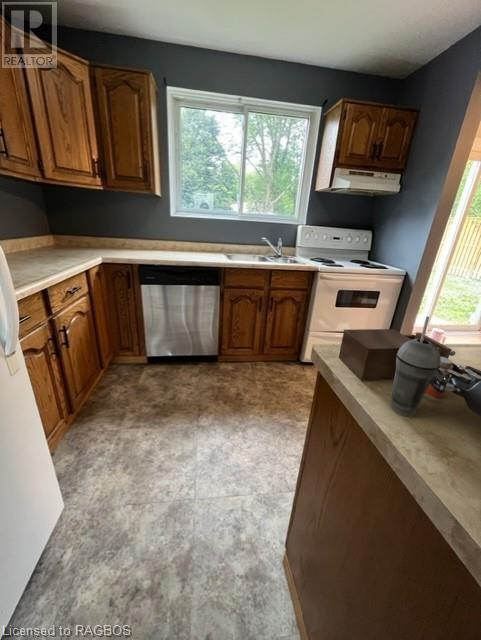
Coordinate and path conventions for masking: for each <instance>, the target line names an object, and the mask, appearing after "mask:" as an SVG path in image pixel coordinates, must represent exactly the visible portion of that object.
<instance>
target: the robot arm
mask: <svg viewBox="0 0 481 640" xmlns="http://www.w3.org/2000/svg"><path fill="white" fill-rule="evenodd" d="M452 365H453V369H452V370H450V369H448V370H445V369H443V368H441V367H440V368H439V369H438V370H437V372H436V374H435V375H434V377H432V380H431V382H430V384H431V385H432V386H433V388H434V389H435V390H436V391H437V392H439V393H443V392H444V393H445V391H450V392H452V393H453V394H455V395H457V396H459V397H461V398H463V400H464V402H465V405H466V407H467V409H468V410H470V411H471V412H472V413H474V414H475V415H476V416H478V417H479V418H481V370H480V369H477V368H475V367H472V366H469V365H465V367H464V366H463V365H461V364H456V363H454V362H452ZM439 372H441V373H443V376H441V375H440V374H439ZM444 390H445V391H444Z"/></svg>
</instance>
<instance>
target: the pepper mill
mask: <svg viewBox="0 0 481 640" xmlns="http://www.w3.org/2000/svg"><path fill="white" fill-rule="evenodd" d="M452 363H453V360H451V359H450V358H445V357H441V361H440V367H441V368H443V369H445V370H448V369H450V370H452V369H453V365H452ZM439 374H440V375H441V376H443V373H441V372H439ZM445 391H446V390H444V392H443V393H439V392H437V391H436V390H435V389H434V388H433V386H432V385H431V384H429V386H428V388H427V390H426V392H425V394H426V395H428V396H430V397H433V398H442V397H443V396H444V393H445Z"/></svg>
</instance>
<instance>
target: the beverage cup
mask: <svg viewBox="0 0 481 640" xmlns="http://www.w3.org/2000/svg"><path fill="white" fill-rule="evenodd" d="M429 320H430V316H428V315H427V316H425V320H424V324H423V328H422V332H421V333H422V336H421V339H414V340H410V341H408V342H406V343H404V344H403V345H402V346H401V348H400V349H399V351H398V353H397V354H396V357H397V358H396V371H395V377H394V379H393V383H392V388H391V389H392V390H391V395H390V404H389V407H390V409H391V411H393V412H394V413H396V414H397V415H400V416H403V417H407V418H408V417H409V418H410V417H413V416H415V415H416V412H417V411H418V409H419V408H420V405H421V402H422V400H423V399H424V396H425V394H426V393H425V392H426V390H427V388H428V386H429V384H430V382H431V380H432V377H434V375H435V374H436V372H437V370H438V369H439V368H440V361H441V357H440V353H439V351H438V349H437V348H436V347H435V346H434V345H433V344H432V343H430V342H428V341H426V340H424V336H425V335H426V332H427V329H428V328H427V327H428V325H429Z"/></svg>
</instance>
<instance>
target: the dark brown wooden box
mask: <svg viewBox="0 0 481 640" xmlns="http://www.w3.org/2000/svg"><path fill="white" fill-rule="evenodd" d="M410 340H411V339H409V338H407V337H406V336H404V335H402V333H401V332H399V331H397V330H395V329H394V328H374V329H373V328H371V329H370V328H367V329H366V328H365V329H364V328H363V329H362V328H361V329H359V328H358V329H343V333H342V339H341V343H340V349H339V354H338V359H339V360H340V361H341V362H342V363H343V364H344V365H345V366H346V367H347V368H348V369H349V370H350V371H351V372H352V374H354V375H355V376H356V377H357V378H358V380H360V381H362V382H363V381H385V380H387V381H389V380H394V377H395V371H396V358H397V357H396V354H397V353H398V351H399V349H400V348H401V346H402V345H403V344H404V343H406V342H408V341H410Z"/></svg>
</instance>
